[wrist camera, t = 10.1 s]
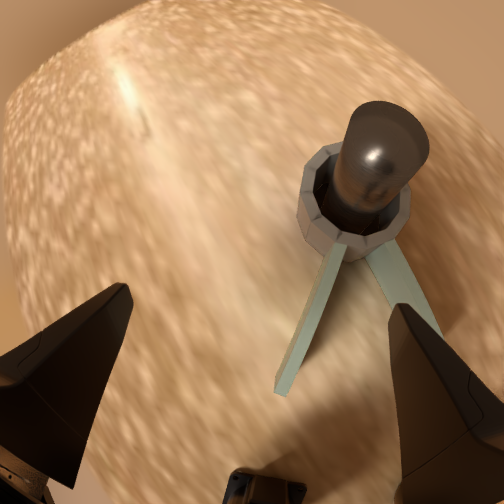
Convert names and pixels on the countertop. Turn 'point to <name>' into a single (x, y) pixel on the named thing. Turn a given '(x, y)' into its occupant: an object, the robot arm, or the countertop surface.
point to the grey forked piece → (348, 259)
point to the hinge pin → (373, 164)
